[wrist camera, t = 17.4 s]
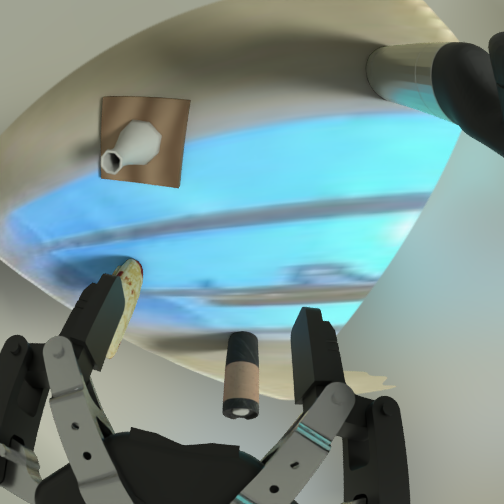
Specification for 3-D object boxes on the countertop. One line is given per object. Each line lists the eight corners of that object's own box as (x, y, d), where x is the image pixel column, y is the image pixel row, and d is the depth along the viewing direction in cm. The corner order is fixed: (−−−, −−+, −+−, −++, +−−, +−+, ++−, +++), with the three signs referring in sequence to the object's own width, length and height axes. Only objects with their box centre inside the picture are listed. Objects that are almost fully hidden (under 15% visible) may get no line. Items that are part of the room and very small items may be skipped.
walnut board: (190, 100, 35) (188, 100, 34) (179, 185, 43) (178, 188, 42) (106, 96, 33) (103, 97, 32) (104, 176, 41) (101, 178, 41)
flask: (112, 150, 38) (80, 173, 30) (131, 111, 34) (98, 124, 26) (149, 171, 40) (124, 199, 32) (170, 133, 37) (146, 151, 29)
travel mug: (243, 326, 63) (240, 405, 47) (265, 340, 66) (266, 415, 50) (221, 339, 66) (214, 413, 50) (243, 351, 69) (240, 422, 53)
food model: (147, 290, 57) (119, 369, 41) (119, 282, 56) (85, 357, 40) (149, 255, 51) (113, 338, 35) (118, 247, 50) (74, 325, 34)
